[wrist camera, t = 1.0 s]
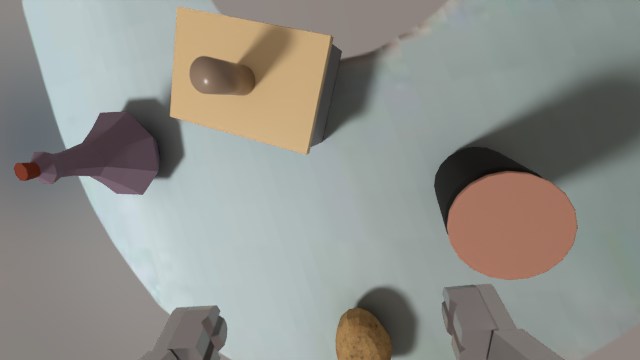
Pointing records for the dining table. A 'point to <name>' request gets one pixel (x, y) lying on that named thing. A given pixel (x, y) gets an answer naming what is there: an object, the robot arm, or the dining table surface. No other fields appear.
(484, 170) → the coffee jar
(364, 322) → the potato
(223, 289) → the dining table surface
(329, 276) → the dining table surface
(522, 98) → the dining table surface
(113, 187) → the flask
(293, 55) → the lid
